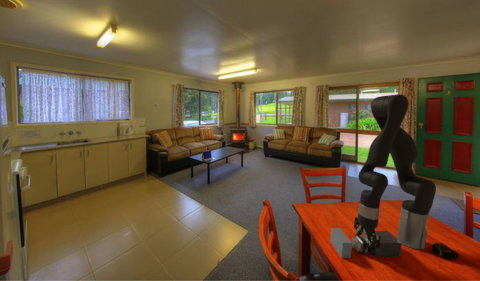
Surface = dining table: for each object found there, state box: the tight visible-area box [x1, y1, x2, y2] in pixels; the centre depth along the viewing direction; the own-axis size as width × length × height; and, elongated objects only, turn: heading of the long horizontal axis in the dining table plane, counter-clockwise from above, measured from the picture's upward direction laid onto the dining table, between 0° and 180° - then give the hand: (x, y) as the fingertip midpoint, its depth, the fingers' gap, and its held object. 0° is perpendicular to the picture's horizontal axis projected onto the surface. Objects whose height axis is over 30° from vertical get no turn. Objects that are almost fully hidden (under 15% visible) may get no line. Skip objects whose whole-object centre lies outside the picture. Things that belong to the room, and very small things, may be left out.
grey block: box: [330, 227, 353, 259], centre depth 82 cm, size 4×10×7 cm, turn 178°
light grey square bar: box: [351, 233, 375, 255], centre depth 82 cm, size 17×6×6 cm, turn 89°
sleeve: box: [370, 230, 403, 258], centre depth 82 cm, size 10×8×7 cm
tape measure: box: [431, 242, 460, 260], centre depth 79 cm, size 7×7×4 cm
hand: (364, 246), depth 82 cm, fingers open, 7 cm apart
